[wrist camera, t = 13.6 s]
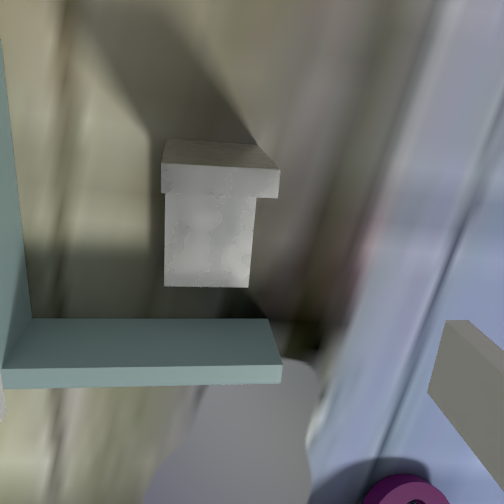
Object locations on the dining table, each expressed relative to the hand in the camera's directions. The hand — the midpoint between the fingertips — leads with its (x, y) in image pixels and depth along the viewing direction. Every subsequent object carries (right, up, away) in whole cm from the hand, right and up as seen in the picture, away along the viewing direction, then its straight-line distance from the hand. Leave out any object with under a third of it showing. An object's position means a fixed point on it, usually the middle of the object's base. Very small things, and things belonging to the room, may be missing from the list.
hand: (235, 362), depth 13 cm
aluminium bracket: (-3, +6, +18) cm, 20 cm away
